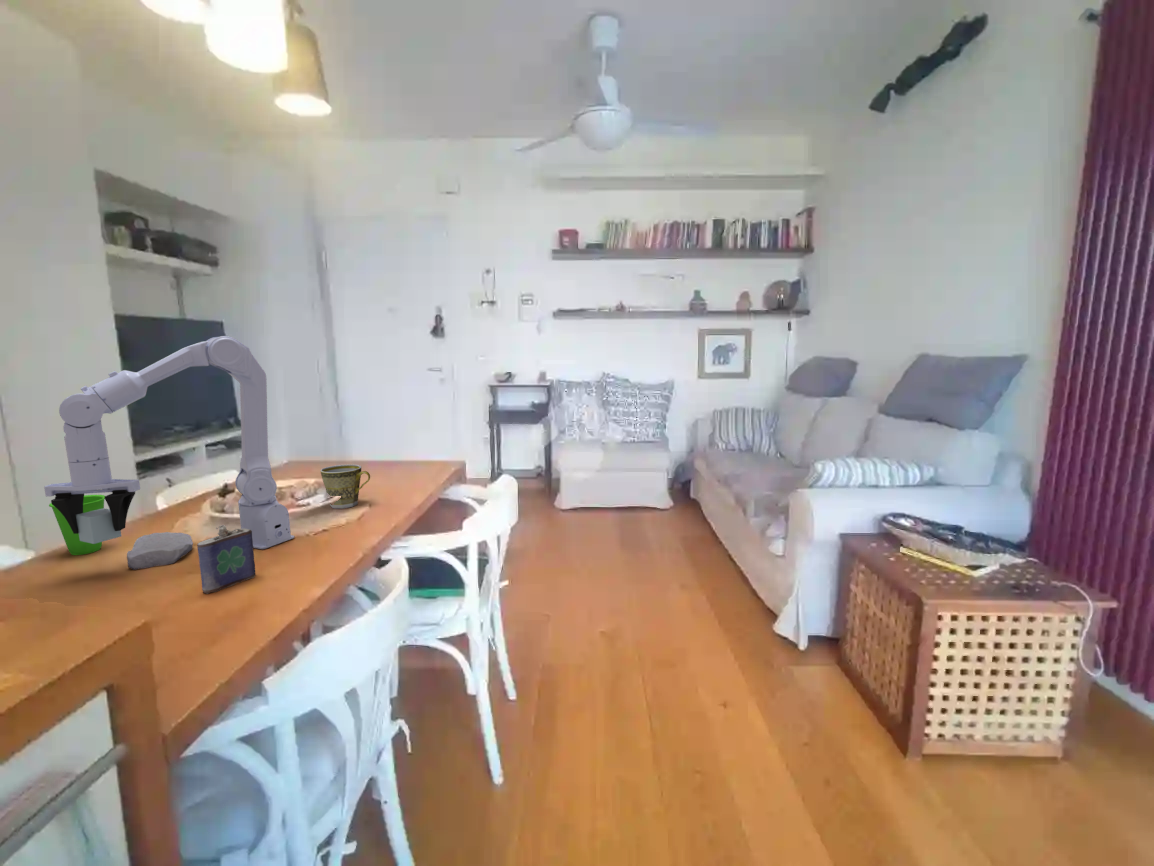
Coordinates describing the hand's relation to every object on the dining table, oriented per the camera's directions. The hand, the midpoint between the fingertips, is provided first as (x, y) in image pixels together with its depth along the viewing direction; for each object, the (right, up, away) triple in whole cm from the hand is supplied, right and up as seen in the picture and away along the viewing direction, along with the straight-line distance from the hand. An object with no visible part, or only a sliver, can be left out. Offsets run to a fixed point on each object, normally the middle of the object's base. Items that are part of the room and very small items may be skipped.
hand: (99, 530), depth 108 cm
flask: (+27, -9, -4) cm, 29 cm away
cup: (-14, -7, +14) cm, 21 cm away
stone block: (+5, -7, +10) cm, 13 cm away
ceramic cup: (+29, -1, +45) cm, 53 cm away
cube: (0, -2, 0) cm, 2 cm away
